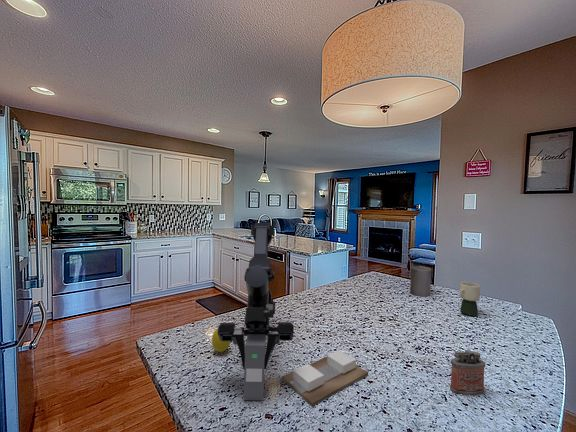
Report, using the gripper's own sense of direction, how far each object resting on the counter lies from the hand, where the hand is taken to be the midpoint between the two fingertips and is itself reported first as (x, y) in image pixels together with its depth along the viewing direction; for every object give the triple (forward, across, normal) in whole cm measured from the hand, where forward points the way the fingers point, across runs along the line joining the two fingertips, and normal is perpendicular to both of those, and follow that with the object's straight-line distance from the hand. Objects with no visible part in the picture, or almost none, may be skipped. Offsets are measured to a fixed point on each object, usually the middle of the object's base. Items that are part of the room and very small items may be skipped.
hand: (254, 369), depth 65 cm
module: (+4, 0, +6) cm, 7 cm away
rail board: (0, +18, +10) cm, 21 cm away
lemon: (-9, -12, +20) cm, 25 cm away
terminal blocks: (-1, +18, +9) cm, 20 cm away
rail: (0, +18, +10) cm, 21 cm away
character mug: (-29, +87, +39) cm, 100 cm away
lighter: (+4, +52, +6) cm, 53 cm away
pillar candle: (-48, +80, +58) cm, 110 cm away
